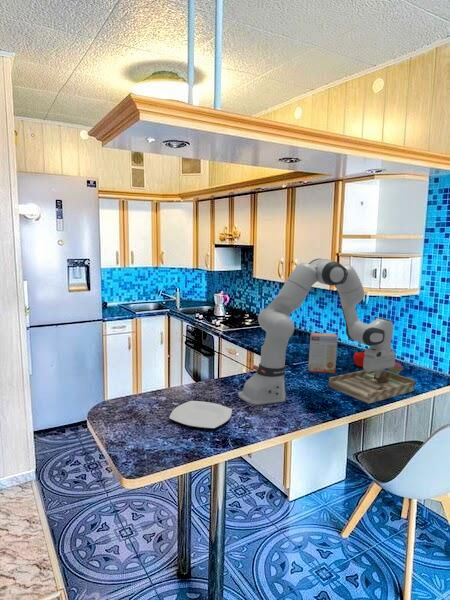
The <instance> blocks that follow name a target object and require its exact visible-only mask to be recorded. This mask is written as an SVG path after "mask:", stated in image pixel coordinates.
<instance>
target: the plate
mask: <svg viewBox="0 0 450 600" xmlns="http://www.w3.org/2000/svg"><path fill="white" fill-rule="evenodd" d="M232 413H233V409H232V408H230V407H227V406H225V405H222V404H219V403H214V402H210V401H209V402H208V401H199V400H189V401H187V402H184V403H182V404H179V405H178V406H176V407H174V409H173V410H172V411H171V413H170V415H169V417H168V419H169V420H171V421H174V422H176V423H179V424H181V425H185V426H187V427H193V428H194V427H195V428H200V429H202V428H203V429H214V430H215V429H216V428H218V427H220V426H222V425H224V424H225V423H226V422H228V421H229V420H230V418H231V417H232V415H233V414H232Z"/></svg>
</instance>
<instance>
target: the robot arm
mask: <svg viewBox="0 0 450 600" xmlns="http://www.w3.org/2000/svg"><path fill="white" fill-rule="evenodd" d="M356 271H357V270H355V268H354V267H353V266H352V265H349V264H341V263H339V262H338V261H335V260H334V261H333V260H331V259H327V258H315V259H313V260H311V261H309V263H308V262H300V263H298V265H297V266H296V267H295V268H294V269H293V271H292V272H291V273H290V274H289V276H288V277H287V279H286V280H285V282H284V284H283V285H282V287H281V289H280V290H279V292H278V293H277V295H276V296H275V297H274V298H273V299H272V300H271V302H270V303H269V304H268V305H267V306H266V307H265V308H264V309H262V310H260V312H259V313H258V316H257V321H258V325H259V327H260V328H261V329H262V330H263V331H265V339H264V341H263V344H262V345H261V349H260V361H259V362H260V363H259V364H258V365H256V364H254V365H253V366H252V370H254V371H256V372H255V373H254V374H253V375H252V376H251V377H250V378H248V379H247V380H246V381H245V382H244V385H243V390H241V391H239V392H237V396H238V398H240V399H241V400H242V401H244V402H246V403H248V404H251V405H255V406H257V405H260V406H261V405H266V404H275V403H283V402H286V397H287V394H286V393H287V392H286V388H285V387H286V386H285V385H286V384H285V375H286V365H285V364H286V353H287V346H288V343H289V340H290V338H291V337H292V336H293V334H294V332H295V324H294V322H293V320H292V319H291V318H290V315H291V314H293V312H295V311H296V310H297V309H299V308H300V307H301V305H302V304H303V302H304V301H305V299H306V297H307V295H308V294H309V292H310V291H311V289H312V287H313V286H314V284H315V283H317V282H318V283H320V284H321V285H322V284H323V285H326V286H331V287H332V286H336V289H337V292H338V296H339V298H340V300H339V301H340V302H339V303H340V306H341V307H340V308H341V311H342V315H343V317H344V318H343V319H344V321H345V334H346V336H347V338H348V339H349V340H351V341H353V342H354V341H355V342H356V343H360V344H362V345H365V346H369V347H368V348H366V349H364V352H363V353H364V354H366V355H365V357H364V362H363V367H362V368H363V369H362V370H365V371H368V372H372V371H375V374H376V376H375V377H376V378H380V377H381V373H382V371H383V370H387V369H388V368H391V367H394V365H395V362H396V355H395V351H394V349H393V348H392V339H393V335H394V334H393V333H394V323H393V321H392V320H391V319H388V318H385V317H376V318H375V319H374V321H372V322H370V323H366V322H365V323H364V322H362V320H360V319H359V317H358V314H357V313H358V312H357V309H356V305H359V303H361V302H362V301H363V299H364V297H365V290H364V286H363V284H362V282H361V279H360V277H359V275H358V273H357V272H356Z"/></svg>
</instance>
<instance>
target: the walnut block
mask: <svg viewBox="0 0 450 600" xmlns="http://www.w3.org/2000/svg"><path fill="white" fill-rule="evenodd" d="M386 371H387V370H386ZM386 371H382V373H381V377H380V378H376V377H375V376H376V374H375V375H374V379H375V380H378V381H380V382H386V383H388V381H389V377H390V373H389V372H386Z"/></svg>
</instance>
